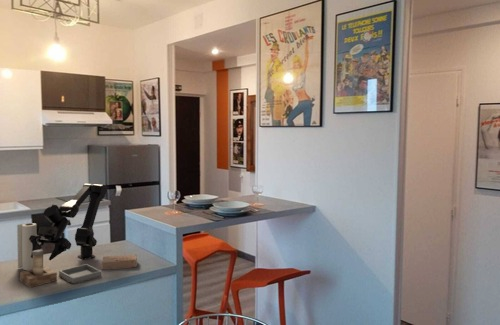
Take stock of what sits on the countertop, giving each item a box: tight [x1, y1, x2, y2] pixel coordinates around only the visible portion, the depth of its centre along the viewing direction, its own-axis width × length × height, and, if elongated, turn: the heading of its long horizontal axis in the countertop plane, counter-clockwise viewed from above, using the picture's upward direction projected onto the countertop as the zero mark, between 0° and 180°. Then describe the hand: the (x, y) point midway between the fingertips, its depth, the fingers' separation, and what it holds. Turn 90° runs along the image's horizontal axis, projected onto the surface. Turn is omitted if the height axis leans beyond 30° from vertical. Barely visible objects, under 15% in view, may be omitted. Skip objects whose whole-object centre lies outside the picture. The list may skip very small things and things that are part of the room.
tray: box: [58, 263, 102, 285], centre depth 184 cm, size 13×13×2 cm
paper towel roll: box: [16, 222, 38, 271], centre depth 190 cm, size 7×6×21 cm
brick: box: [100, 253, 138, 270], centre depth 199 cm, size 17×8×5 cm, turn 106°
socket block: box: [19, 266, 58, 288], centre depth 177 cm, size 11×11×4 cm
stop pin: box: [32, 249, 45, 276], centre depth 177 cm, size 5×5×13 cm
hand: (40, 258), depth 178 cm, fingers open, 9 cm apart
